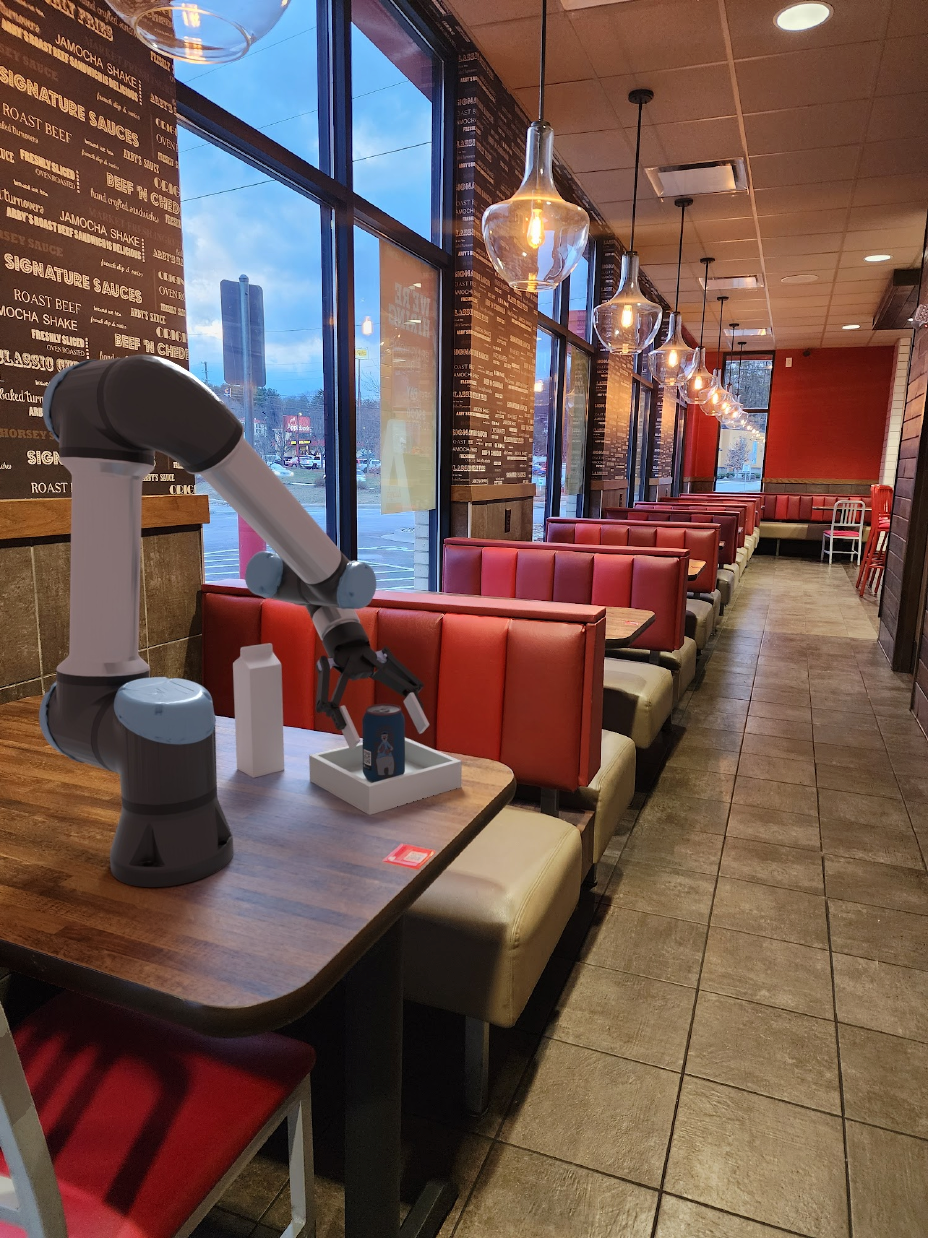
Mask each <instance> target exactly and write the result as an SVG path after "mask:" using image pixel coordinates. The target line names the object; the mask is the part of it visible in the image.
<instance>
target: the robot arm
mask: <svg viewBox="0 0 928 1238" xmlns="http://www.w3.org/2000/svg"><path fill="white" fill-rule="evenodd" d="M43 394H44V395H43V398H42V408H41V409H42V417H43V421H44V424H45V426H46V428H47V430H48V431H49V432H51V435H52V436H53V439H54V440H55V441H57V442H58V447H59V453H58V455H59V457H58V459H59V462H60V463H61V464H62V465H63V466H64V468H65V469H66V470H68V472H69V473H70V474H71V508H70V509H71V510H70V511H71V512H70V513H71V514H70V515H71V519H70V520H71V521H70V522H71V523H70V524H71V525H70V529H71V530H70V586H69V588H70V592H69V600H70V601H69V647H68V649H69V654H68V655H67V657H66V658H64V660H62V661H61V662H60V663H59V664H58V665H57V666H56V673H55V675H56V677H55V679H56V681H55V682H54V683H52V685H50V689H49V690H48V691H47V692H45V694H44V696H43V697H42V700H41V703H40V707H39V712H38V714H39V716H38V719H39V726H40V730H41V732H42V735H43V737H44V738H45V740H46V742H47V743H48V744H49V745H50V746H51V748H53V749H54V750H55V751H57V752H58V753H61V754H62V755H63V756H66V757H68V759H69V760H73V761H75V762H78V763H82V764H87V765H91V766H94V767H97V768H98V769H99V768H100V769H103V770H106V771H108V772H111V773H115V774H118V775H119V782H120V784H119V785H120V794H121V795H120V797H121V799H120V800H121V813H120V816H119V818H118V819H119V820H118V824H117V827H116V830H115V835H114V837H113V841H112V844H111V848H110V853H109V861H110V862H109V863H110V873H111V875H112V876H113V877H114V878H115V879H116V880H118V881H119V882H122V883H123V884H127V885H130V886H135V887H143V888H163V887H172V886H173V887H175V886H179V885H183V884H187V883H192V882H195V881H199V880H201V879H202V880H203V879H204V878H206V877H209V876H212V875H213V874H215V873H217V872H218V871H220V870H221V869H223V868H225V867H226V866H227V864H229V862H231V860H232V859H233V856H234V837H233V833H232V831H231V828H230V826H229V823H228V821H227V819H226V816H225V813H224V810H223V808H222V806H221V803H220V801H219V798H218V779H217V775H218V774H217V745H216V742H217V741H216V737H217V735H216V723H217V722H216V714H215V711H214V705H213V698H212V696H211V693H210V692H209V691H208V689H206V688H205V687H204V686H203V685H201V684H199V683H197V682H195V681H191V680H188V679H186V678H185V679H184V678H178V677H173V678H168V677H167V676H166V677H165V676H156V677H155V676H154V677H150V676H151V675H150V672H151V668H150V665H149V664H148V663H147V662H146V661H145V660H144V658H142V657H141V656H140V654H139V645H140V644H139V643H140V642H139V639H140V638H139V636H140V601H141V600H140V598H141V597H140V593H141V591H140V590H141V587H140V586H141V549H142V548H141V547H142V545H141V544H142V542H141V541H142V496H143V494H142V493H143V492H142V490H143V481H144V479H145V478H146V477H147V476H149V475H150V473H152V472H153V471H154V470H155V465H156V464H155V457H156V452H158V453H162V454H163V455H165V456H166V457H167V456H168V457H170V458H171V459H172V460H174V461H176V463H177V464H178V465H180V466H181V468H182V469H183V470H184V471H186V472H187V473H188V474H191V475H200V476H201V477H202V478H203V479H204V480H205V481H206V482H207V483H208V484H209V486H211V488H213V490H214V491H216V492H217V494H219V496H220V497H221V498H222V499H223V500H224V501H225V502H226V504H228V505H229V506H230V507H231V508H232V509H233V510H234V511H235V512H236V513H237V514H238V515H239V516H240V517H241V518H242V519H243V521H244V522H245V523H247V525H248V526H249V527H250V528H251V529H252V530H253V531H254V532H255V533H256V534H257V535H258V536H259V538H261V539H262V540H263V541H264V542H265V543H266V544H267V545H268V546H269V547H270V549H271V550H272V551H268V550H262V551H261V550H260V551H258V552H256V553H255V554H254V555H253V556H251V557H250V559H249V560H248V562H247V564H246V568H245V573H244V581H245V585H246V587H247V589H248V590H249V591H250V592H251V593H252V594H254V595H257V596H260V597H263V598H264V599H270V600H275V601H279V602H284V603H288V604H293V605H297V606H300V607H304V608H305V609H306V610H307V612H308V615H309V616H310V619H311V621H312V623H313V625H314V627H315V630H316V632H317V633H318V636H319V638H320V640H321V641H322V643H321V644H322V646H323V647H324V650H325V652H326V654H327V656H326V655H323V654H322V655H321V656H320V657H319V659H318V660H317V662H316V664H315V668H316V669H315V670H316V672H317V677H318V678H317V687H316V701H315V712H317V713H318V714H322V713H324V714H325V716H326V717H328V718H331V720H332V722H333V724H334V727H335V729H336V730H337V731H341V733H342V735H343V737H344V739H345V741H346V744H347V746H349V748H350V750H351V749H354V748H355V747H356V746H357V744H358V743H361V738H360V736H359V733H358V731H357V729H356V727H355V725H354V722H353V720H352V719H351V716H350V714H349V711H348V710H347V707H346V705H341V706H340V703H341V701H342V699H343V696H344V693H345V690H346V687H347V685H348V682H349V680H350V681H352V682H355V681H357V680H366V679H369V678H370V679H372V680H374V681H378V682H380V683H381V684H383V685H385V686H386V687H388V688H389V689H391V690H393V691H394V692H396V693H397V694H398V695H400V696H402V697H403V698H405V699H404V700H403V704H404V707H405V708H406V710H407V712H408V714H409V717H410V719H411V720H412V722H413V725H414V727H415V728H416V731H417V733H418V734H419V735H420V734H423V733H424V732H425V730H426V729H427V728H428V727H429V726H430V723H429V720H428V719H427V717H426V715H425V713H424V710H425V707H424V704H423V701H422V700H421V699H420V695H419V693H420V692H421V690H422V689H423V688H424V686H425V685H424V682H422V680H420V679H419V678H418V677H417V676H416V675H415V674H414V673H413V672H411V671H410V670H409V669H408V668H407V667H406V666H405V665H404V663H402V662H401V661H400V660H398V658H396V657H395V656H394V654H393V653H392V651H391V649H390V648H389V647H388V646H383V648H382V649H381V650H377V651H375V650H374V649H373V648H372V646H371V642H370V639H369V637H368V635H367V632H366V630H365V627H364V626H363V624H361V619H360V617H359V616H358V613H357V612H356V610H361V609H364V608H365V607H367V606H368V605H370V604H371V601H372V600H373V599H374V596H375V594H376V590H377V578H376V577H377V576H376V573H375V571H374V570H373V568H372V567H371V566H370V565H369V564H367V563H365V562H360V561H358V560H355V559H354V560H350V559H348V557H346V555H345V554H344V553H343V552H342V551H341V550H340V549H339V548H338V546H337V545H336V544H335V543H334V542H333V540H332V539H331V538H330V537H329V535H328V534H327V533H326V532H325V531H324V530H323V529H322V527H321V526H320V525H319V524H318V523H317V521H316V520H315V519H314V518H313V517H312V516H311V515H310V512H308V511H307V510H306V509H305V508H304V507H303V505H302V504H301V503H300V502H299V500H298V499H297V498H296V497H295V496H294V495H293V494H292V492H291V491H290V490H289V489H288V487H287V486H286V485H285V484H284V482H282V480H281V479H280V478H279V477H278V476H277V475H276V474H275V472H274V471H273V470H272V469H271V468H270V467H269V465H268V464H267V463H266V462H265V461H264V460H263V457H261V456H260V454H258V452H257V451H256V450H255V449H254V448H253V447H252V445H251V444H250V442H248V441H247V440H246V438H245V437H244V435H245V428H244V425H243V423H242V422H241V421H240V420H239V418H238V417H237V416H236V414H235V413H234V412H233V411H232V410H231V409H230V407H228V405H227V404H226V403H225V402H224V401H223V400H222V399H221V398H220V397H219V396H218V395H217V394H216V393H215V392H214V391H212V389H210V388H209V387H208V386H207V385H206V384H205V383H203V382H202V381H201V380H199V378H197V377H196V376H195V375H194V374H192V373H191V372H189V371H188V370H187V369H185V368H183V367H181V366H180V365H179V364H176V363H174V361H173V362H172V361H171V360H169V359H167V358H166V359H165V358H162V357H160V356H155V355H150V354H136V355H130V356H129V355H128V356H126V357H116V358H106V359H105V358H104V359H90V360H89V359H88V360H84V361H80V362H78V363H76V364H72V365H69V366H67V367H65V368H63V369H61V370H60V371H59V372H58V373H56V374H55V375H54V376H53V377H52V378H51V380H49V382H48V384H47V386H46V388H45V391H44V393H43ZM332 668H333V669H334V670H336V671H337V672H339V676H338V679H337V681H336V686H335V688H334V690H333V693H332V696H331V698H330V701H329V694H330V693H329V692H330V680H331V669H332ZM375 669H377V670H376V671H375Z"/></svg>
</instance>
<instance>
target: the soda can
mask: <svg viewBox="0 0 928 1238" xmlns="http://www.w3.org/2000/svg"><path fill="white" fill-rule="evenodd" d="M405 719H406V718H405V715H404V714H403V712H402V708H401V706H400V705H397V704H392V703H376V704H371V705H369V706H367V707H366V708H365V712H364V715H363V717H362V723H361V724H362V725H361V726H362V734H361V735H362V743H363V774H364V776H365V777H366V779H367V780H368V781H369V782H370V783H374V782H377V781H381V780H385V779H388V778H392V777H396V776H399V775H403V774H404V772H405V738H406V720H405Z"/></svg>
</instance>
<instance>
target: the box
mask: <svg viewBox="0 0 928 1238" xmlns="http://www.w3.org/2000/svg"><path fill="white" fill-rule="evenodd" d="M308 757H309V758H308V759H309V761H308V762H309V782H312V783H313V784H315V785H316V786H318V787H320V788H321V789H324V790H325V791H327V792H329V793H330V794H332V795H334V796H335V797H338V798H339V799H340V800H343V801H344V802H346V803H348V804H349V805H351V806H353V807H354V808H356V809H358V810H360V811H362V812H364V813H365V814H367V815H368V816H371V815H374V814H378V813H381V812H384V811H388V810H392V809H395V808H398V807H400V806H404V805H407V804H406V803H408V804H410V803H414V802H417V800H418V801H420V800H423V799H422V798H424V799H427V797H428V798H430V797H433V795H434V796H437V795H440V794H439V793H441V794H443V793H447V792H450V790H451V791H454V790H456V788H457V789H460V788H462V776H463V775H462V767H463V766H462V765H463V764H462V760H460V759H457V758H455V757H453V756H450V755H448V754H445V753H443V752H440V751H439V750H436V749H434V748H431V747H429V746H427V745H424V744H422V743H419V742H417V741H414V740H413V739H410V738H407V737H405V772H404V774H403V775H399V776H396V777H392V778H388V779H385V780H381V781H377V782H374V783H370V782H369V781H368V780H367V779H366V777H365V776H364V774H363V742H359V743H358V744H357V746H356V747H355V748H354V749H351V750H350V748H349V746H348V745H346V746H342V747H338V748H333V749H330V750H329V749H328V750H325V751H321V752H316V753H312V754H309V756H308ZM413 801H414V802H413ZM397 806H398V807H397Z"/></svg>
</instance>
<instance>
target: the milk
mask: <svg viewBox="0 0 928 1238" xmlns="http://www.w3.org/2000/svg"><path fill="white" fill-rule="evenodd" d="M239 653H240V656H239V657H237V659H236V660H234V662H233V663H232V670H233V672H232V673H233V674H232V675H233V676H232V677H233V699H234V701H233V702H234V728H235V752H236V753H235V754H236V755H235V756H236V769H237V770H239V771H240V772H242V773H244V774H245V775H247V776H249V777H251V778H252V779H256V778H258V777H262V776H266V775H270V774H274V773H278V772H283V771H284V770H285V747H284V746H285V745H284V742H285V741H284V712H283V710H284V709H283V708H284V707H283V706H284V705H283V679H282V678H283V675H282V674H283V673H282V667H283V666H282V663H281V661H280V659H278V657H277V655H276V654H275V652H274V649H273V644H272V643H262V644H256V645H249V646H242V647H240V652H239Z"/></svg>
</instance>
